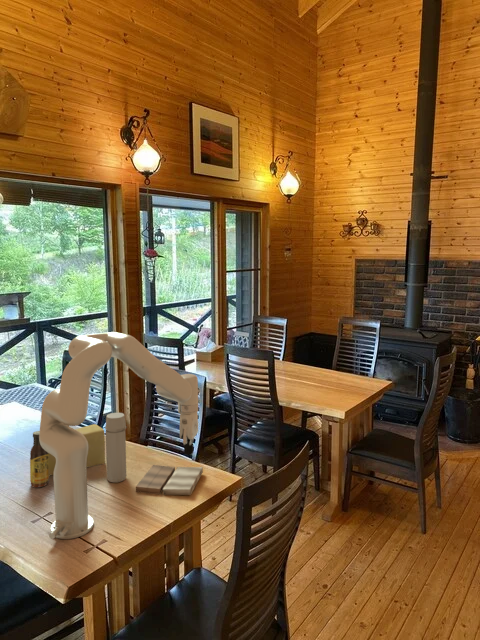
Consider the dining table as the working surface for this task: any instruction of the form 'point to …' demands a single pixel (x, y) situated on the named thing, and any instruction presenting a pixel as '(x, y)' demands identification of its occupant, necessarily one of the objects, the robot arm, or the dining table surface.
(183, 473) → the board
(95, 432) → the cheese
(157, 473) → the laid board
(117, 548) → the dining table surface
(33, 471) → the sauce bottle
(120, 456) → the water bottle
